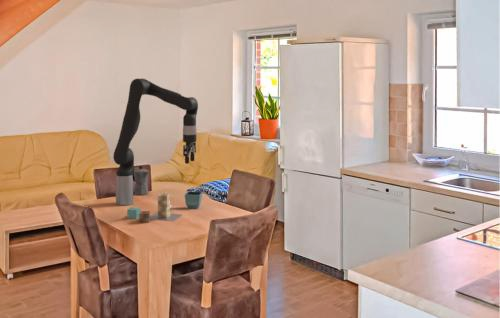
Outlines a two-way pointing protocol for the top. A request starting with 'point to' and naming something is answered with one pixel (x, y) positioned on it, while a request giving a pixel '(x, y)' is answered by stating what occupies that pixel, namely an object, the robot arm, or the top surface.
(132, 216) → the teal block
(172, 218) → the slate board
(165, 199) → the tower top block
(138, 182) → the coffeepot
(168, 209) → the tower base block
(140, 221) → the walnut block
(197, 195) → the flower pot
